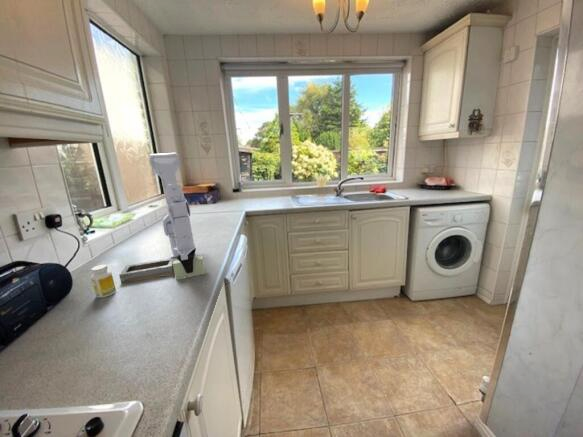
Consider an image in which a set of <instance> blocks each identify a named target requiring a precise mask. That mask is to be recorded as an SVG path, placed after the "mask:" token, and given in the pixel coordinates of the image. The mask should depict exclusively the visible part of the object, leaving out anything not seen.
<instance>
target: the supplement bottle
mask: <svg viewBox="0 0 583 437" xmlns="http://www.w3.org/2000/svg"><path fill="white" fill-rule="evenodd" d="M91 273H92V274H91V276H90V280H91V283H92V287H93V290H94V293H95V296H96V297H97V298H99V299H101V298H103V299H104V298H107V297H108V296H111V295H113V294H115V293H116V290H117V289H116V284H115V282H114V277H113V274H112V271H111V270H109V269H108V266H107V264H99V265H96V266H94V267H92V268H91Z"/></svg>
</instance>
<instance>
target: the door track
mask: <svg viewBox="0 0 583 437" xmlns="http://www.w3.org/2000/svg"><path fill="white" fill-rule="evenodd" d="M175 260H176V257H173V258H171V257H170V258H166V259H159V260H153V261H152V260H151V261H148V262H147V261H146V262H141V263H140V262H139V263H135V264H128V265H125V266H124V268H123V270H122V271H121V272H120V273H119V279H120V283H121V284H126V283H131V282H137V281H142V280H148V279H154V278H158V277H159V278H160V277H165V276H171V275H174V274H175V273H174V268H173V262H174V261H175Z"/></svg>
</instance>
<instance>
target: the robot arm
mask: <svg viewBox="0 0 583 437" xmlns="http://www.w3.org/2000/svg"><path fill="white" fill-rule="evenodd" d="M148 155H149V160H150V161H149V162H150V166H151V170H152V173H153V174H154V175H157V176H159V178H160V179H161V184H162V187H163V189H162V190H163V194H164V199H165V202H166V203H165V204H166V209H167V214H166V215H164V217H163V218H162V227H163V231H164V232H163V233H164V235H165V236H167V237H168V238H169V244H170V248H171V249H170V250H171V254H170V257H169V258H170V259H171V258H176V260H179V261H180V262H181V264H182V265H183V267H184V269H185V271H186V273H193V259H194V257H196V256H195V255H196V250H197V249H196V245H195V243H194V237H193V236H194V235H193V231H192V225H191V219H190V217H191V209H190V208H191V207H190V204H189V202H188V200H187V197H185V194H184V191H183V187H182V185H180V184H178V182H177V177H176V173H178V172H179V170H180V158H179V155H178V153H177V152H175V151H174V152H168V153H167V152H166V153H150V154H148Z"/></svg>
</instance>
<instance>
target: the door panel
mask: <svg viewBox="0 0 583 437" xmlns="http://www.w3.org/2000/svg"><path fill="white" fill-rule="evenodd" d="M173 268H174V273H173V274H174V277H175V280H178V279H183V278H184V277H185V278H189V276H190V277H195V275H196V276H201V275H205V274H206V266H205V260H204V256H203V255H200V256H199V255H198V256H194V259H193V273H186V271H185V269H184V267H183V265H182V264H181V262H180V261H179V260H178V259H175V261H174V262H173ZM200 274H201V275H200ZM185 278H184V279H185Z"/></svg>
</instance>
